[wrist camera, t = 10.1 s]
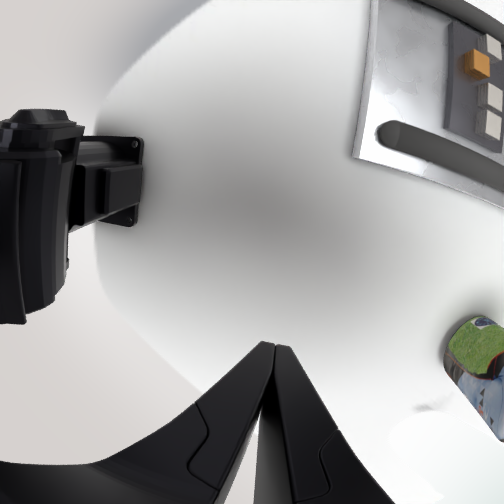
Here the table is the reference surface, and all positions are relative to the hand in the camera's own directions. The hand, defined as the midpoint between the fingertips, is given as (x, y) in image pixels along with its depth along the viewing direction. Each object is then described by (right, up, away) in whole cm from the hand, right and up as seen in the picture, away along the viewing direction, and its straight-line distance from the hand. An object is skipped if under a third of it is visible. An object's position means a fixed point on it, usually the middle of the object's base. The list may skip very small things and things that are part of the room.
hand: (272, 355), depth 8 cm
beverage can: (+19, -4, +12) cm, 22 cm away
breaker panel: (+14, +14, +6) cm, 20 cm away
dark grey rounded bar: (+14, +18, +2) cm, 23 cm away
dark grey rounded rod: (+12, +8, +5) cm, 16 cm away
